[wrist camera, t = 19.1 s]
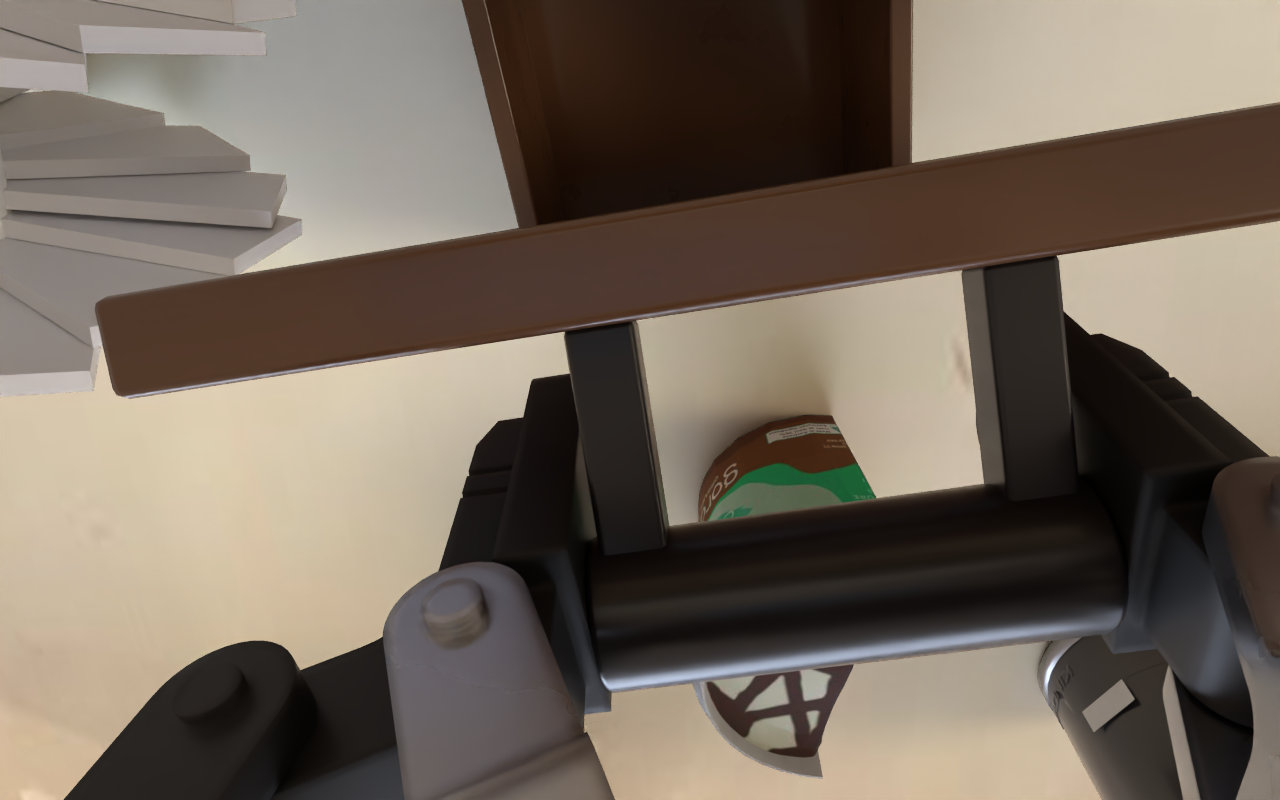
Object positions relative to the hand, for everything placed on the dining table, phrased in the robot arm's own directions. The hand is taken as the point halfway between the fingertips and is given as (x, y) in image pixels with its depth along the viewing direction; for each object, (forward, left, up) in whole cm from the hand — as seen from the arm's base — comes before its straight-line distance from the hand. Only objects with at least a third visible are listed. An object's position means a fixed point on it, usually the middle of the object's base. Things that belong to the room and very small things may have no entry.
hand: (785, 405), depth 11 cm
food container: (0, +17, -20) cm, 26 cm away
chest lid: (0, 0, -5) cm, 5 cm away
